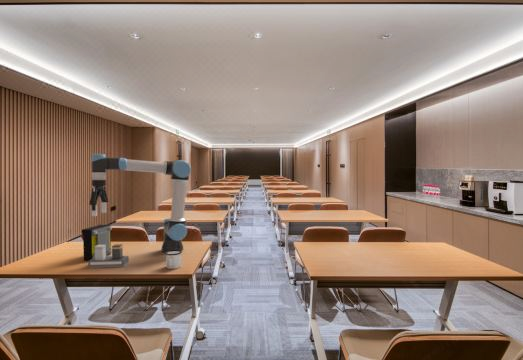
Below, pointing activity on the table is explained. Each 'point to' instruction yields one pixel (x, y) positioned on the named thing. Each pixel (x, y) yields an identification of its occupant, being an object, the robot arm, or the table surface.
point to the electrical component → (96, 240)
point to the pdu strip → (108, 262)
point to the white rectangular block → (100, 252)
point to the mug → (173, 259)
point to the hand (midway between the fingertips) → (99, 214)
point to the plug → (117, 252)
